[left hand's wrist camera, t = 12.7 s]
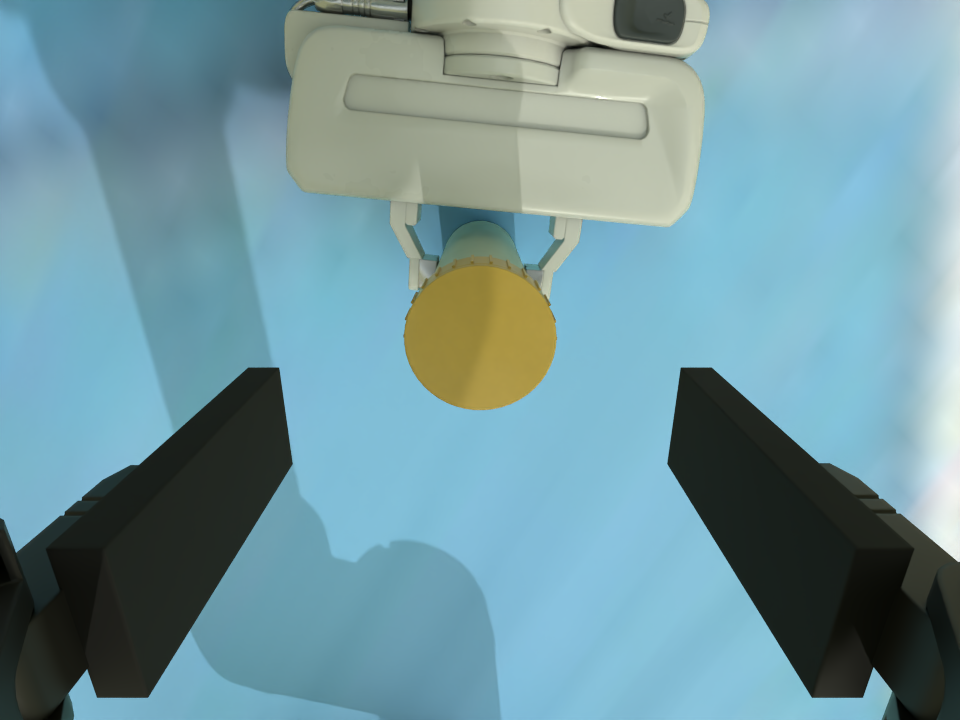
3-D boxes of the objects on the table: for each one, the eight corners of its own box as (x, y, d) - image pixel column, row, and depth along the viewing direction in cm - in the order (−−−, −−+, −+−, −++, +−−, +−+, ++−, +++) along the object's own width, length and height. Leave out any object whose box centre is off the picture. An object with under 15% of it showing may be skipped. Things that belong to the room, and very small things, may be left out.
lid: (475, 222, 20) (474, 228, 18) (581, 321, 21) (591, 337, 19) (379, 329, 21) (370, 345, 19) (484, 416, 22) (485, 439, 21)
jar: (477, 204, 35) (475, 243, 18) (531, 255, 36) (573, 333, 20) (429, 260, 36) (387, 341, 20) (482, 307, 37) (484, 421, 21)
